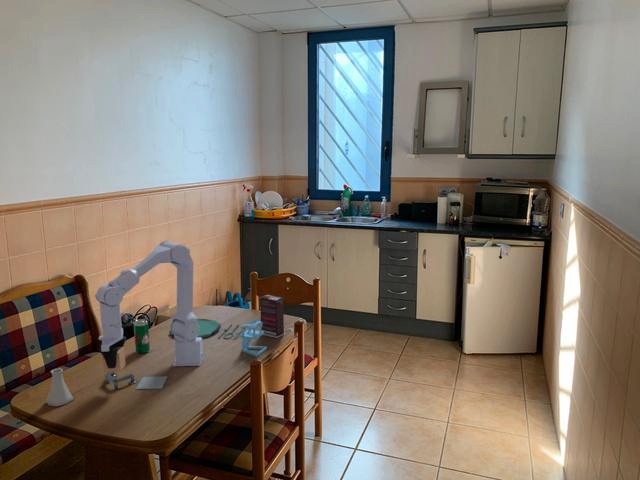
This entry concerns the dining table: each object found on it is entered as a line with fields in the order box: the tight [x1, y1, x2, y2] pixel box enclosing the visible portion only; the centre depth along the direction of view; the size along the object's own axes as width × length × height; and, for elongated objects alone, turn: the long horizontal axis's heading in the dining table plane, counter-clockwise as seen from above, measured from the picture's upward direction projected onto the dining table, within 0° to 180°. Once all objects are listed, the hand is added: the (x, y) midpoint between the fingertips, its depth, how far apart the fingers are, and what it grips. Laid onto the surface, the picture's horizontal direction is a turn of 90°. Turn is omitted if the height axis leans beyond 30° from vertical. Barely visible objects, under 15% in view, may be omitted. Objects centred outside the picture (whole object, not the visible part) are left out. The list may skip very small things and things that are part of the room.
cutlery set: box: [169, 318, 246, 340], centre depth 212 cm, size 20×30×2 cm, turn 80°
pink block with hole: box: [102, 346, 126, 373], centre depth 161 cm, size 5×5×6 cm
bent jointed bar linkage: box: [104, 371, 138, 390], centre depth 168 cm, size 10×11×3 cm
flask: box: [46, 367, 74, 408], centre depth 154 cm, size 7×7×10 cm
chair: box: [239, 319, 268, 358], centre depth 191 cm, size 8×8×12 cm
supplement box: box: [259, 294, 285, 339], centre depth 207 cm, size 9×5×16 cm, turn 58°
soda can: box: [133, 318, 151, 355], centre depth 190 cm, size 5×5×12 cm
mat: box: [135, 375, 168, 390], centre depth 167 cm, size 8×8×1 cm
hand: (114, 363), depth 162 cm, fingers closed on pink block with hole, 5 cm apart
